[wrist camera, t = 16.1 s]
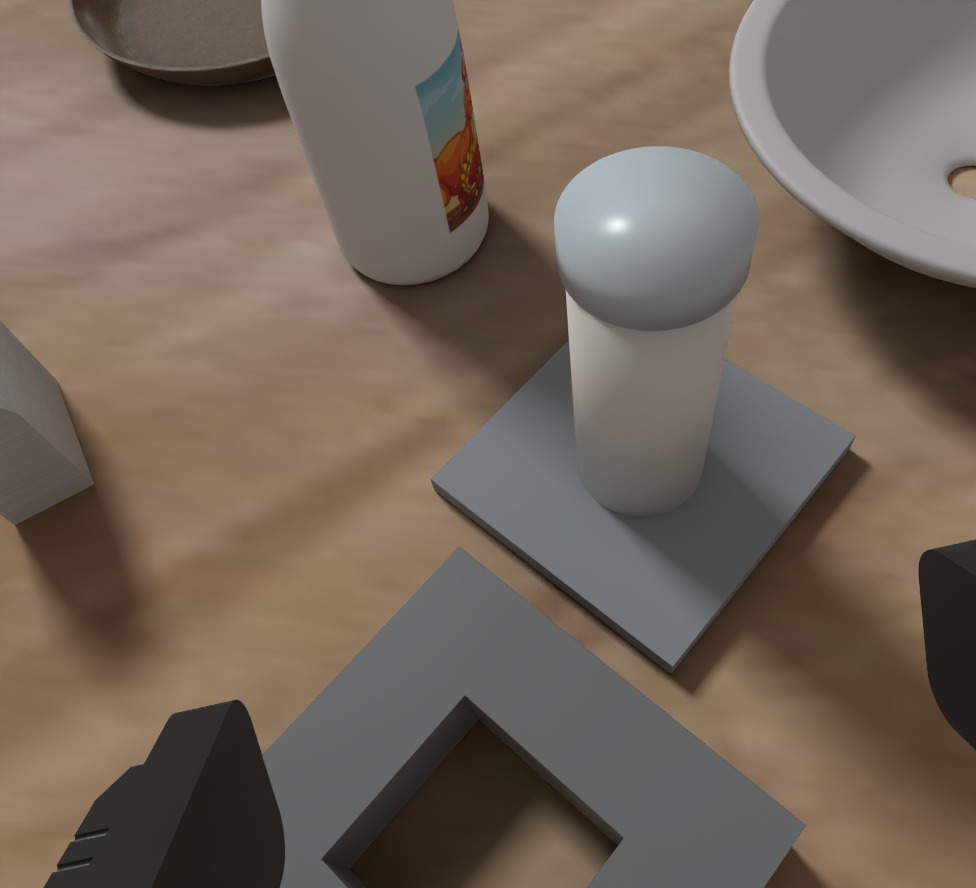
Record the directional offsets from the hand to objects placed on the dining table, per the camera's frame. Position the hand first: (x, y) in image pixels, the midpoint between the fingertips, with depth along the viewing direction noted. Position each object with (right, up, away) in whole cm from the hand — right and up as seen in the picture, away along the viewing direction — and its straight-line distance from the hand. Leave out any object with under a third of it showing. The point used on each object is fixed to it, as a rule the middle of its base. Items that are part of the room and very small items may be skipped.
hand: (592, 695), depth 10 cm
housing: (-1, -11, +19) cm, 22 cm away
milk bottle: (-5, +14, +34) cm, 37 cm away
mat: (+5, +2, +26) cm, 26 cm away
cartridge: (+5, +2, +25) cm, 25 cm away
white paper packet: (-22, +3, +30) cm, 37 cm away
